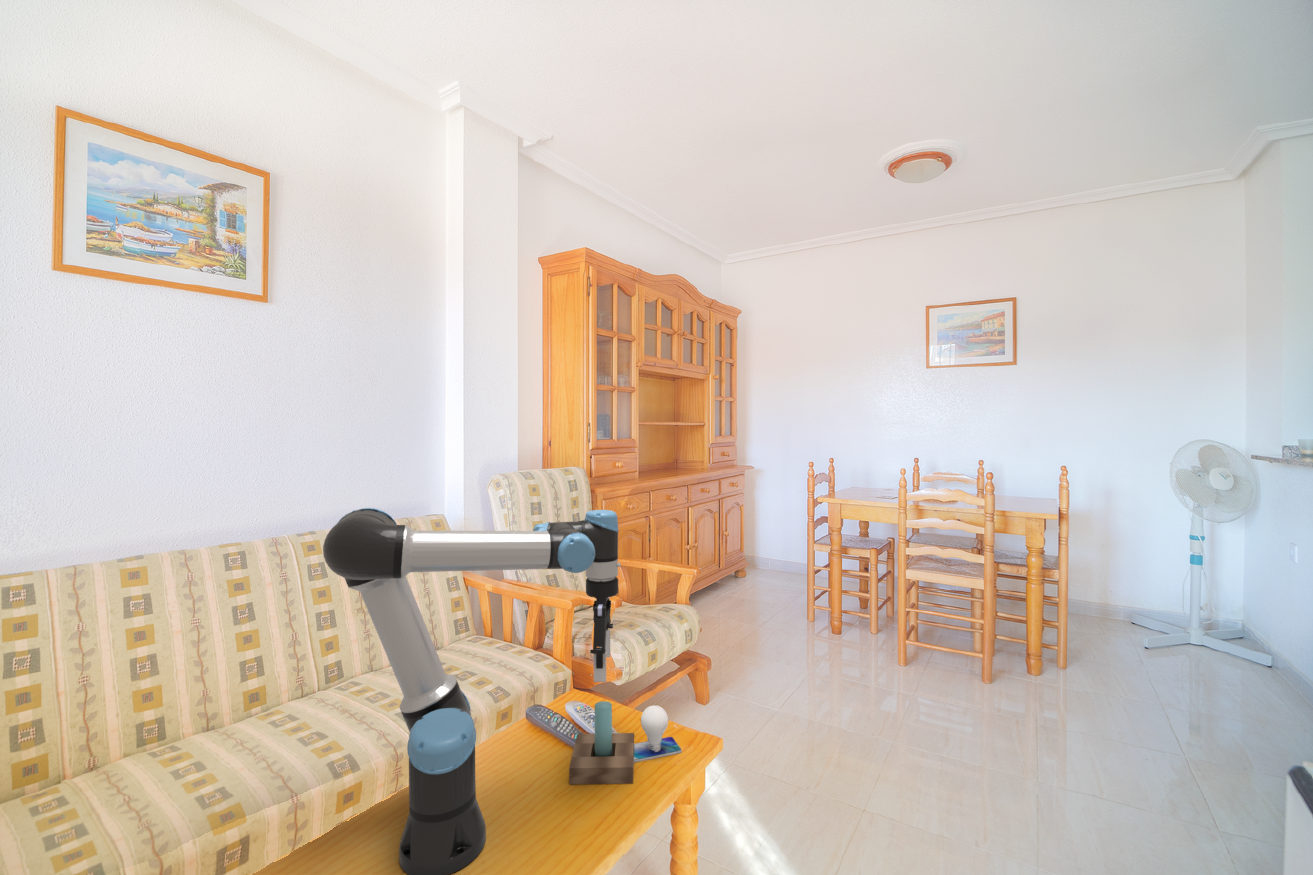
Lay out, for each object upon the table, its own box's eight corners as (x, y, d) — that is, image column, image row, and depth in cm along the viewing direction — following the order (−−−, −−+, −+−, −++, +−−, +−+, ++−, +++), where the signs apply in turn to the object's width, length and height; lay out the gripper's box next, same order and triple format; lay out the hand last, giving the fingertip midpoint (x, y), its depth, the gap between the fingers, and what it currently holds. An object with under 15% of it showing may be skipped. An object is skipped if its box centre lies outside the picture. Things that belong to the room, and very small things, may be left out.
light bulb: (665, 761, 131) (665, 714, 131) (638, 758, 133) (637, 712, 132) (670, 745, 138) (670, 701, 138) (644, 742, 139) (644, 699, 139)
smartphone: (615, 747, 137) (672, 735, 142) (615, 750, 137) (672, 739, 142) (622, 762, 130) (682, 750, 135) (622, 766, 130) (682, 753, 135)
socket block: (569, 784, 123) (569, 768, 123) (577, 748, 137) (577, 733, 137) (632, 783, 123) (632, 767, 123) (634, 747, 137) (634, 732, 137)
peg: (611, 770, 128) (611, 709, 128) (594, 770, 128) (593, 709, 128) (612, 759, 132) (612, 701, 132) (595, 760, 132) (595, 701, 132)
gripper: (615, 592, 117) (615, 693, 117) (620, 564, 142) (621, 647, 142) (579, 592, 117) (579, 693, 117) (591, 564, 142) (591, 647, 142)
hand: (602, 668), depth 130 cm, fingers open, 13 cm apart
